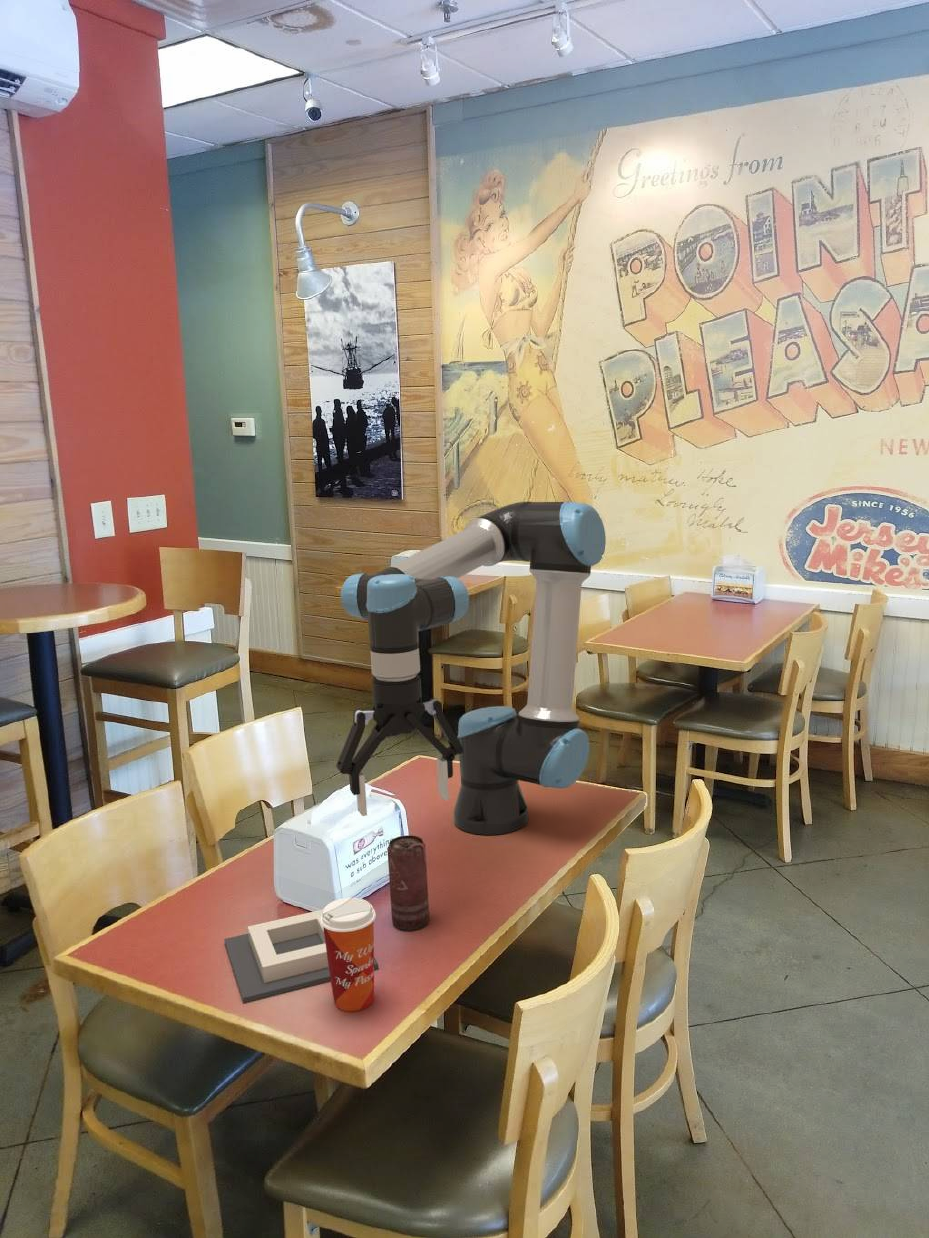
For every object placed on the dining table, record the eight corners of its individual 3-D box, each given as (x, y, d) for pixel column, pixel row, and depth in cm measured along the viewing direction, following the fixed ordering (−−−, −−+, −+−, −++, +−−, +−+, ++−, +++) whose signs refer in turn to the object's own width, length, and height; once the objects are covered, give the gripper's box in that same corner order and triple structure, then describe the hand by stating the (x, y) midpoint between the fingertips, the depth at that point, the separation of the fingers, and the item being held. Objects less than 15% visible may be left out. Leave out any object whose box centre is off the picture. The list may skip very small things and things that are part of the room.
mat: (346, 915, 161) (346, 910, 161) (378, 968, 144) (378, 963, 144) (224, 943, 154) (224, 938, 153) (243, 1003, 137) (242, 998, 137)
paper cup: (343, 1023, 131) (336, 928, 129) (317, 998, 137) (309, 907, 135) (392, 1001, 136) (386, 909, 133) (364, 978, 142) (358, 890, 139)
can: (426, 932, 154) (421, 850, 151) (387, 930, 155) (382, 848, 153) (435, 914, 160) (430, 834, 157) (397, 911, 161) (392, 833, 158)
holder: (329, 922, 157) (328, 908, 156) (350, 961, 145) (349, 946, 145) (249, 941, 152) (247, 926, 152) (264, 982, 140) (262, 967, 140)
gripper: (462, 660, 157) (467, 783, 161) (311, 680, 148) (321, 811, 153) (479, 670, 150) (485, 798, 155) (322, 692, 142) (332, 828, 146)
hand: (403, 805), depth 154 cm, fingers open, 13 cm apart
